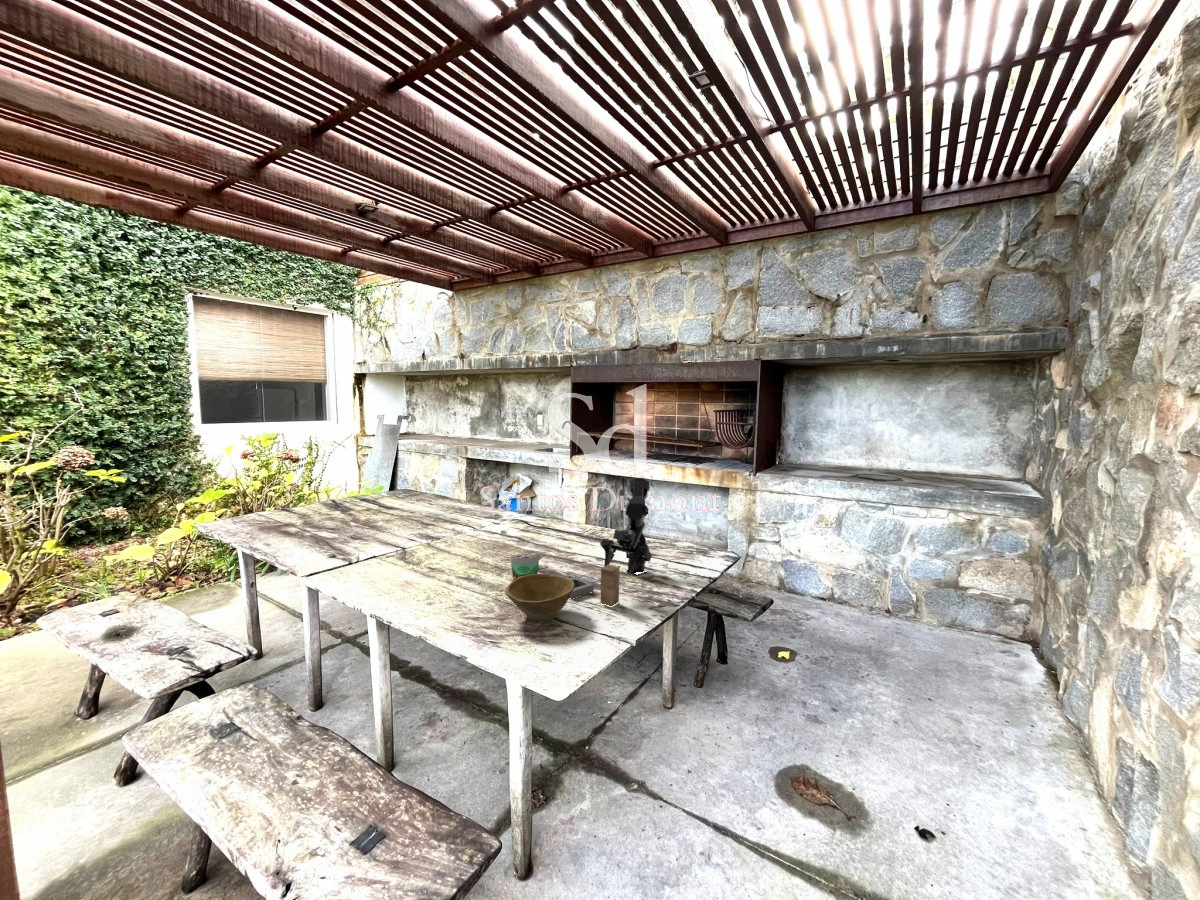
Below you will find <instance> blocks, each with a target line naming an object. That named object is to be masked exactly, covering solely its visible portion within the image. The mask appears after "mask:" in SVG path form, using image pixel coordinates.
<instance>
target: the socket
mask: <svg viewBox="0 0 1200 900" xmlns="http://www.w3.org/2000/svg"><path fill="white" fill-rule="evenodd" d="M569 579H570V580H572V581H573V582H574V589H573V591H572V593H571V595H570V597H569V598H571V599H573V598H576V597H579V596H582V595H585V594H588V593H590V592H593V591H595V587H594V585H595V584H593V583H591V582H589V581H586V580H584V579H583V578H581V577H578V576H575V577H571V578H569ZM588 595H589V594H588ZM585 596H586V595H585ZM582 597H583V596H582ZM579 598H580V597H579ZM571 599H570V600H571ZM576 599H577V598H576ZM573 600H574V599H573Z"/></svg>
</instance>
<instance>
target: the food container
mask: <svg viewBox="0 0 1200 900" xmlns="http://www.w3.org/2000/svg"><path fill="white" fill-rule="evenodd" d="M541 556H542V555H541V554H540V552H538V553H537V554H521V555H516V556H515V555H514V556H513V555H512V554H511V553H510V555H509V556H508V557H509V558H508V560H509V562H510V566H511V574H512V581H514V580H515V579H517V578H519V577H522V576H526V575H530V574H539V573H538V571H539V563H540V560H541V559H542V557H541Z"/></svg>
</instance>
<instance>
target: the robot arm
mask: <svg viewBox="0 0 1200 900" xmlns="http://www.w3.org/2000/svg"><path fill="white" fill-rule="evenodd" d="M628 482H629V483H628V485H629V487H628V488H629V490H628V491H629V492H630V494H631V495H630V496H631V498H629V499H628V504H626V508H625V516H627V525H626V528H625V529H623V530H618V529H614V533H613V537H612V539H609V538H602V539H601V540H600V543H599V545H600V547H602V549H603V550H604V554H605V555H604V556H605V557H604V565H603V567H604V566H606V565H608V564H609V565H611V562H612V561H613V559H614V558H615V557H614V556H615V553H616V552H617V551H619V552H623V553H625V554H626V559H628V562H627V569H628V570H627V569H626V570H627V571H626V573H627V575H630V574H631V573H636V572H643V571H644V569H645V568H646V562H648V563H649V562H650V561H651V560H652V553H651V551H650V547H649V546H648V544H647V542H646V541H647V539H646V536H645V535H644V534H643V532H644V531H643V530H644V528H645V526H646V523H645V521H644V519H645V517H647V516H648V515H649V508H648V505H646V499H647V498H648V492H650V480H647V479H646V478H644V477H634V478H632V479H630V480H629V481H628ZM613 540H616V543H618V544H616V543H615V542H614V541H613ZM645 570H646V569H645Z"/></svg>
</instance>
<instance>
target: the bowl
mask: <svg viewBox="0 0 1200 900" xmlns="http://www.w3.org/2000/svg"><path fill="white" fill-rule="evenodd" d="M570 579H571V578H568V577H566V576H563V575H558V574H551V573H543V572H542V573H538V574H530V575H526V576H522V577H519V578H517V579H515V580H512V581H511V582H510V583H509V584H508V585H506V589H505V593H506V597H508V599H510V601H511V602H512V603H513V604H514V605H515V606H516V608H517V609H519V610H520V612H522V613H523V614H524V615H526V616H527V617H528V618H529V619H530V620H531V621H533V622H542V623H543V622H548V621H551V620H553V619H555V618H556V616H557V615H558V614H559V612H561V610H562V609H563V607H565V606H566V605H567V602H568V601H569V597H570V595H571V593H572V591H573V589H574V582H573V581H572V580H570Z"/></svg>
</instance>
